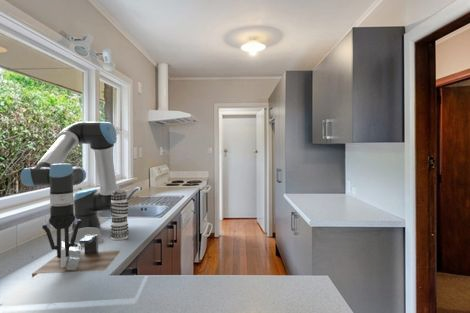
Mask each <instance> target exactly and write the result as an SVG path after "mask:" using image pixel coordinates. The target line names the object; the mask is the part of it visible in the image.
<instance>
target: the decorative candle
mask: <svg viewBox="0 0 470 313" xmlns="http://www.w3.org/2000/svg"><path fill="white" fill-rule="evenodd" d="M127 194H128V192H126V191H125V190H121V189H120V190H117V191H113V193H112V194H111V202H110V206H111V207H110V209H111V210H110V211H109V212H110V218H111V221H110V222H111V225H110V227H111V229H110V230H111V231H110V234H111V235H110V237H111V238H110V239H111V240H113V241H122V240H126V239H127V238H129V223H128V215H129V214H128V213H129V212H128V211H129V208H128V207H129V205H128V204H129V202H128V198H127V197H128V196H127Z"/></svg>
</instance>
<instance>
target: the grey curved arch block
mask: <svg viewBox="0 0 470 313" xmlns="http://www.w3.org/2000/svg"><path fill="white" fill-rule="evenodd" d="M72 233H73V231H72V230H71V231H69V242H70V241H71V237H72ZM95 234H98V244H99V243H104V240H103V237H102V236H103V235H102V232H101V228H100V229H99V228H94V227H87V228H81V229H78V232H77V236H76V240H75V243H79V241H80V240H81V239H82V238H84V236H85V235H95ZM80 246H81V248H83V247H84V243H83V244H80Z"/></svg>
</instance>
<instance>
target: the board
mask: <svg viewBox="0 0 470 313" xmlns="http://www.w3.org/2000/svg"><path fill="white" fill-rule="evenodd" d="M120 252H121V250H109V251H108V250H107V251H105V250H103V251H98V253H97V254H85V251H83V252H82V251H81V253H80V256H79V258H80V260H79V263H78V266H77V269H76V270H67V269H66V266H65V267H61V258H57V255H56V256H54V257H52V258H51V259H49V261H47V262H46V263H45V264H43V265H42V266H41V267H39V268H38V269H36V270H35V271H34V272H32V273H31V278H33V277H36V276H37V275H39V274H54V273H55V274H56V273H73V272H94V271H95V272H96V271H106V270H107V268H108V267H109V266H110V265H111V264H112V262H113V261H115V260H114V259H115V258H116V257H117V256H118V255H119V254H120Z"/></svg>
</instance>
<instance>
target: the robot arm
mask: <svg viewBox="0 0 470 313" xmlns="http://www.w3.org/2000/svg"><path fill="white" fill-rule="evenodd" d="M57 135H58V136H57V139H56V141H55V142H54V143H53V144H52V145H51V146H50V148H49V149H48V150H47V151H46V153H45V154H44V155H43V156H42V157H41V158H40V159H39V161H38V162H37V163H36V164H35V165H34V166H33V167H31V166H30V167H25V168H23V169H22V171H21V172H20V181H21V184H22V185H23V186H26V187H47V186H49V204H50V205H51V206H49V209H50V210H49V211H50V214H49V216H50V217H49V219H48V221H47V222H46V223H43V224H42V227H41V228H42V229H43V230H44V232H45V233H46V236H47V240H48V242H49V246H50V248H51V250H53V251H55V250H56V256H57V258H61V267H65V266H66V257H68V256H69V248H70V247H71V246H74V244H75V240H76V236H77V232H78V229H81V228H87V227H94V228H99V229H100V230H101V227H102V226H101V222H100V219H99V217H98V212H110V210H111V209H110V207H111V206H110V202H111V194H112V193H113V191H117V190H121V189H120V186H118V184H117V180H116V170H115V166H114V165H115V164H114V158H113V157H114V156H113V150H112V149H113V147H114V146H115V144H116V143H117V138H118V137H117V131H116V128H115V125H114V124H113V123H111V122H109V121H77V122H74V123H72V124H70V125H68V126H66V127H64V128H63V129H62V130H61V131H60V132H59V133H58V134H57ZM85 144H86V145H89V146H90V149H91V150H92V151H93V152H94V158H95V163H96V169H97V176H98V184H99V189H97V188H89V189H84V190H79V191H76V192H75V193H74V186H77V185H80V184H81V183H83V182H85V180H86V177H87V172H86V170H85V169H84V168H83V167H81V166H73V164H72V163H69V162H67V163H65V162H64V161H65V159H66V158H67V156H69V154H70V153H71V151H72V150H73V149H75V148H76V147H77V146H78V145H85ZM63 162H64V163H63ZM51 226H52V227H53V228H54V229H55V230H56V244H55V242H54V238H53V235H52V233H51V230H50V228H51ZM70 227H71V232H72V231H73V233H72V237H71V241H70V243H69V233H70V231H69V230H70ZM62 229H63V230H64V231H63V232H64V234H63V235H64V242H65V247H64V248H61V242H62Z"/></svg>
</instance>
